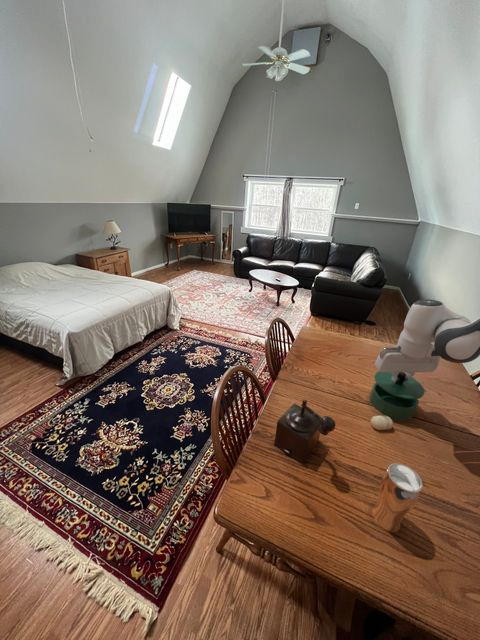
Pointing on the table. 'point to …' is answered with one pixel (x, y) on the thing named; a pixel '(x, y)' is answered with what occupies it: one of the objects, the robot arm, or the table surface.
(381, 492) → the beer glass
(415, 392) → the lid
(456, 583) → the table surface
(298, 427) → the manual coffee grinder
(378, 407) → the basin
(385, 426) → the egg
